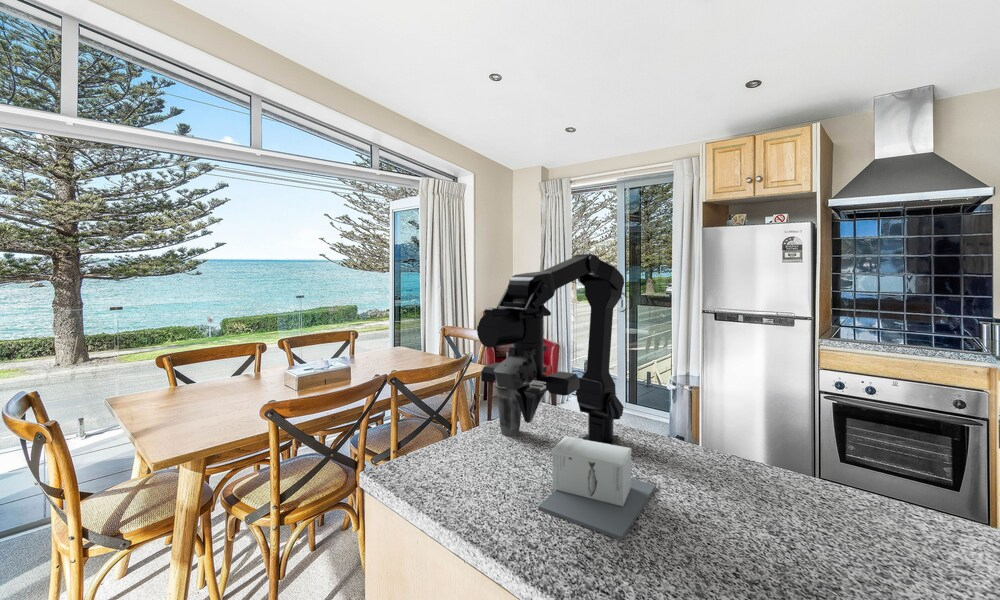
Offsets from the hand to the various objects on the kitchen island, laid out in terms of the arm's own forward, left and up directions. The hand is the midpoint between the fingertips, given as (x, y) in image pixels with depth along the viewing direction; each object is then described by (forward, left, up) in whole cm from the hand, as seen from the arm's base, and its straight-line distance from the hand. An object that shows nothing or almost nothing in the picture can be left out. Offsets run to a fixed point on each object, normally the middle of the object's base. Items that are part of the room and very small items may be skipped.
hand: (528, 422), depth 80 cm
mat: (0, +14, -11) cm, 18 cm away
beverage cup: (-16, -15, -11) cm, 25 cm away
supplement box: (-1, +6, -6) cm, 9 cm away
